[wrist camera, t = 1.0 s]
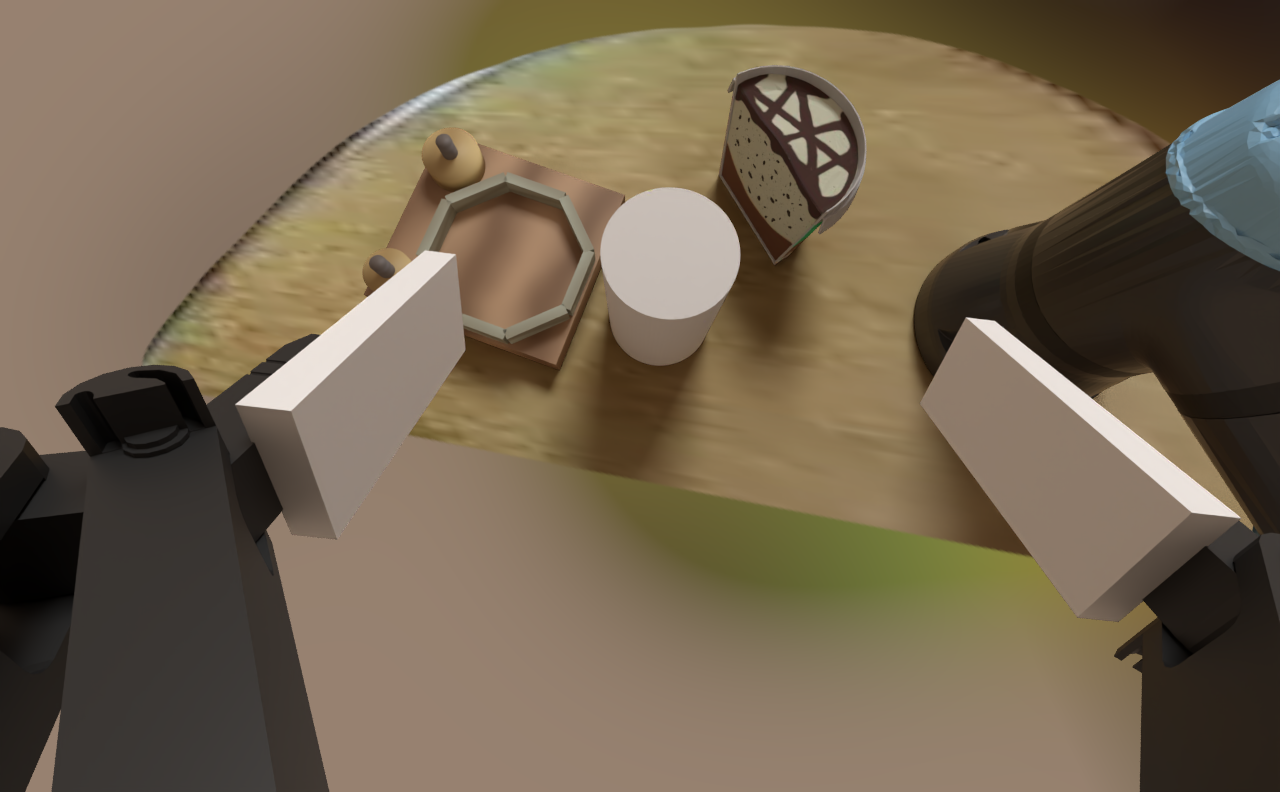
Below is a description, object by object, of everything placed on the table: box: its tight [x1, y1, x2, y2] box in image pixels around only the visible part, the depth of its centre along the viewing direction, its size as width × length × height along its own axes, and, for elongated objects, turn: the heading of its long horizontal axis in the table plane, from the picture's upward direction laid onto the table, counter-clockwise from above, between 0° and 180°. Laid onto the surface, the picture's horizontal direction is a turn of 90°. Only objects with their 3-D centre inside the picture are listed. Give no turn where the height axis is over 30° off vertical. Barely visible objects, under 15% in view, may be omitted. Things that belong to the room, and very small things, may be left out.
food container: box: [719, 65, 866, 265], centre depth 37 cm, size 12×6×10 cm, turn 29°
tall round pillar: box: [600, 188, 740, 366], centre depth 35 cm, size 8×8×12 cm
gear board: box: [363, 128, 625, 370], centre depth 39 cm, size 16×15×5 cm
